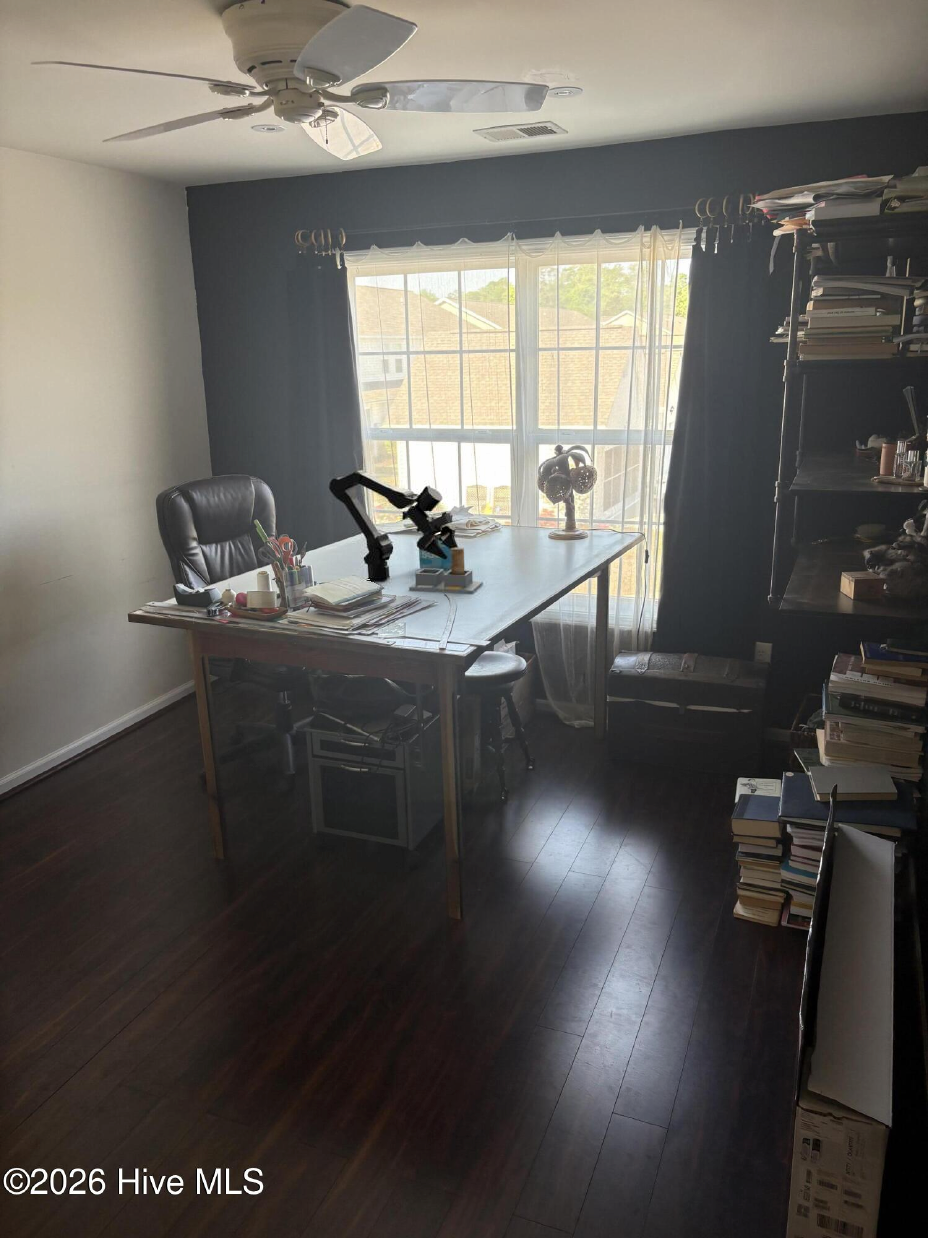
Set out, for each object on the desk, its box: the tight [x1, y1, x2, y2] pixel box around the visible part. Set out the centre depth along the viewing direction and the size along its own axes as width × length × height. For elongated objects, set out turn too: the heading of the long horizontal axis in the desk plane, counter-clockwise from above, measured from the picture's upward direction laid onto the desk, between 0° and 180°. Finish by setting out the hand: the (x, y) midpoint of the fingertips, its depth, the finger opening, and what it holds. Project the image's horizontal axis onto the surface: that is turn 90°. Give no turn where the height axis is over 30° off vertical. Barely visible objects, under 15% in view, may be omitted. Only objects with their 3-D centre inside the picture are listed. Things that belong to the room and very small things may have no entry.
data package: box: [418, 535, 451, 570], centre depth 324 cm, size 12×4×12 cm, turn 94°
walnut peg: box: [450, 547, 466, 575], centre depth 297 cm, size 4×4×12 cm
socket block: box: [408, 568, 484, 595], centre depth 298 cm, size 22×12×5 cm, turn 73°
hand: (452, 555), depth 297 cm, fingers open, 9 cm apart
